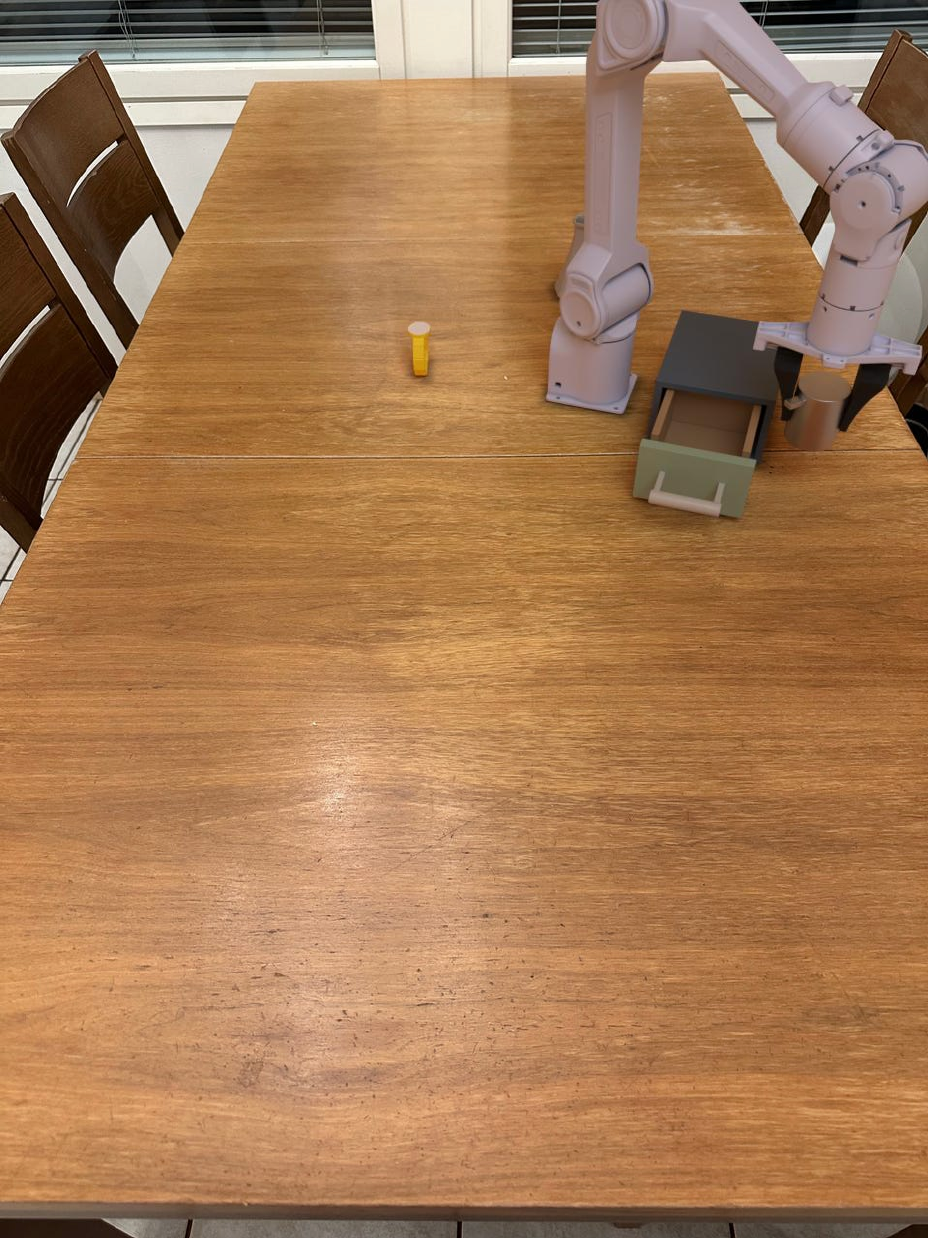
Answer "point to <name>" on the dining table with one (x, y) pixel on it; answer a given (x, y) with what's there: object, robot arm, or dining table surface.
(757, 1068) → the dining table surface
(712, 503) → the drawer
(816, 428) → the measuring cup
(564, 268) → the flask
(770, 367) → the cabinet
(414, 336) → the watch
